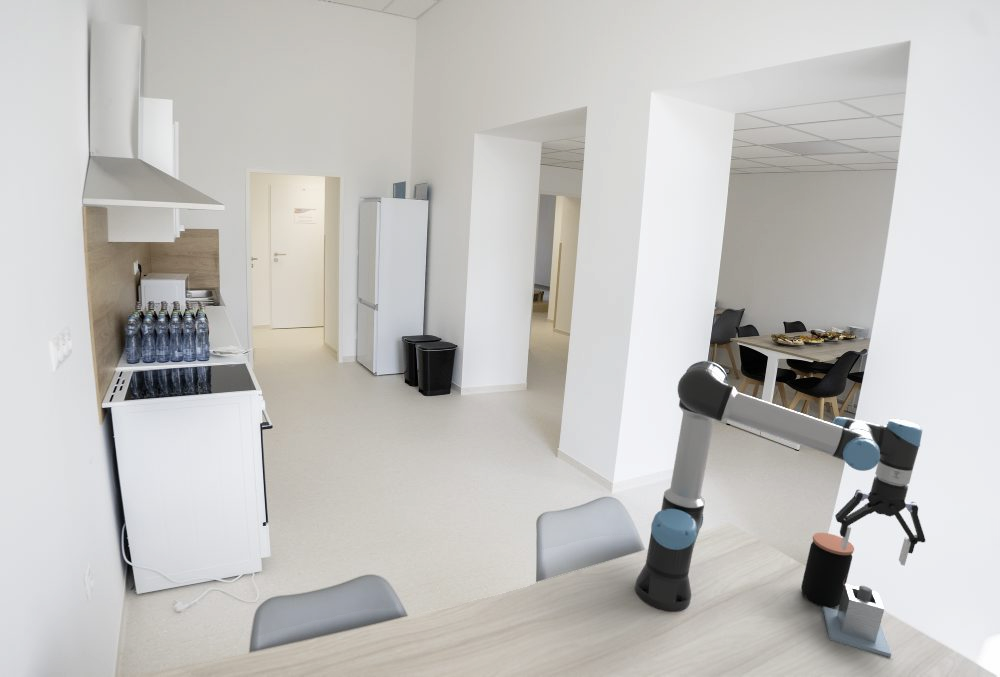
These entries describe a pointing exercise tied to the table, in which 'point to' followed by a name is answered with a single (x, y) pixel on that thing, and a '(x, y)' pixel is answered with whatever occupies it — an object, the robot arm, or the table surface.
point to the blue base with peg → (837, 636)
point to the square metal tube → (859, 614)
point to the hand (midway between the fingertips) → (872, 555)
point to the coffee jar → (826, 570)
